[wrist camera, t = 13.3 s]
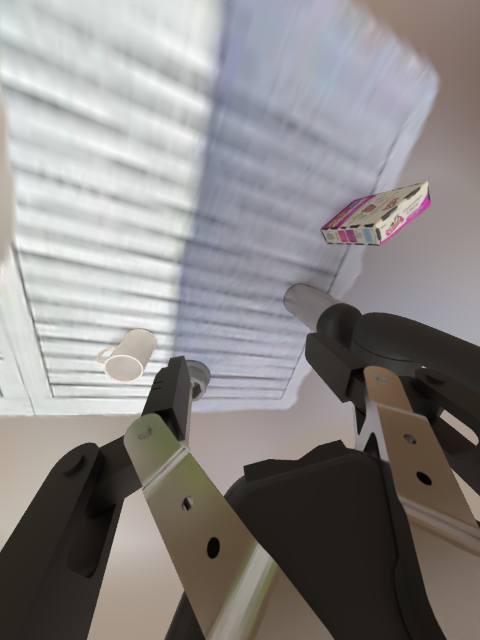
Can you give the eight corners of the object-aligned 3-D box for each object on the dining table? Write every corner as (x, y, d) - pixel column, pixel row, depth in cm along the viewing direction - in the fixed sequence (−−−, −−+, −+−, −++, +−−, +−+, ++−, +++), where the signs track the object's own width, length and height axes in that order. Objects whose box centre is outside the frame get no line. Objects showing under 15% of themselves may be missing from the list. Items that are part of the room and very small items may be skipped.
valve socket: (206, 356, 56) (206, 378, 47) (212, 387, 62) (213, 411, 54) (152, 366, 54) (143, 390, 45) (164, 397, 60) (158, 423, 51)
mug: (111, 350, 49) (86, 381, 38) (111, 324, 46) (82, 350, 35) (155, 355, 52) (143, 384, 42) (158, 331, 49) (145, 356, 39)
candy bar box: (327, 245, 48) (380, 247, 33) (319, 229, 46) (373, 224, 31) (361, 216, 46) (433, 205, 32) (355, 198, 44) (429, 178, 29)
